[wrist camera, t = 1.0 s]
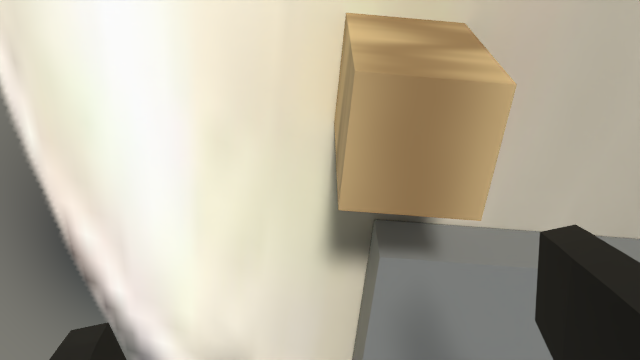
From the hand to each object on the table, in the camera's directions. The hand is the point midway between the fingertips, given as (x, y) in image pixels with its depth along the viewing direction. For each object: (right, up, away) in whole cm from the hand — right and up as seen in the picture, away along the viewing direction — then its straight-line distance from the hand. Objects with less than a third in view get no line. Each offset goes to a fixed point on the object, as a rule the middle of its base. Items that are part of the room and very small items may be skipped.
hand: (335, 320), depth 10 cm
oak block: (+2, +6, +11) cm, 12 cm away
